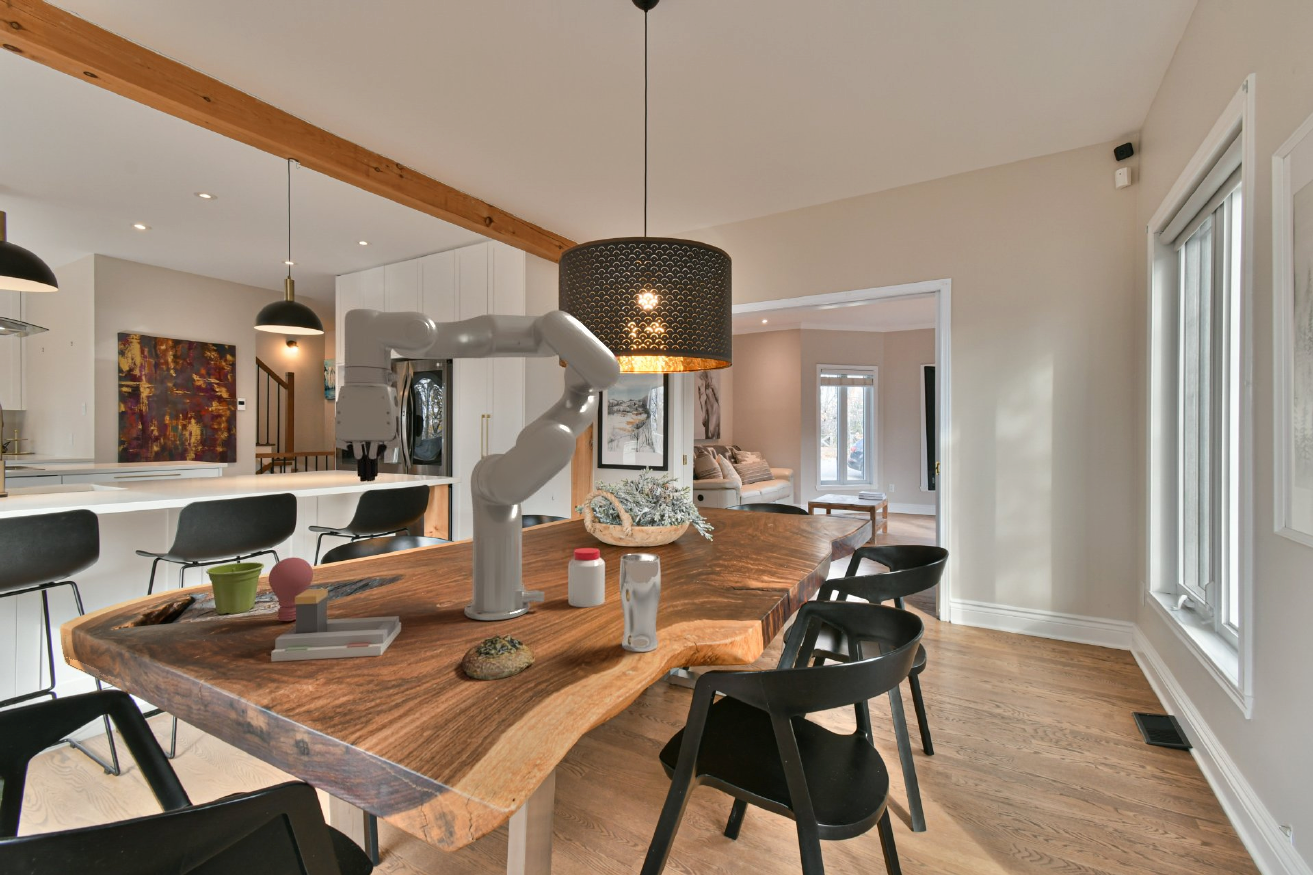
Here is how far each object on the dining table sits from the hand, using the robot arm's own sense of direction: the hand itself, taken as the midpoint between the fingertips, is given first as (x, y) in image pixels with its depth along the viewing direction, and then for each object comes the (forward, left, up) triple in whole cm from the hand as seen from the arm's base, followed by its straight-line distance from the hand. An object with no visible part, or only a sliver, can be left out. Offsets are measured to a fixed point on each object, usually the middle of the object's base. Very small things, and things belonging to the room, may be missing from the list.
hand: (367, 480), depth 104 cm
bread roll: (-25, +20, -28) cm, 42 cm away
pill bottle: (-40, -12, -27) cm, 50 cm away
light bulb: (+16, -8, -27) cm, 33 cm away
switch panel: (+2, +7, -27) cm, 28 cm away
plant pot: (+30, -17, -27) cm, 44 cm away
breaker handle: (+7, +7, -25) cm, 27 cm away
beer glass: (-48, +15, -27) cm, 57 cm away
